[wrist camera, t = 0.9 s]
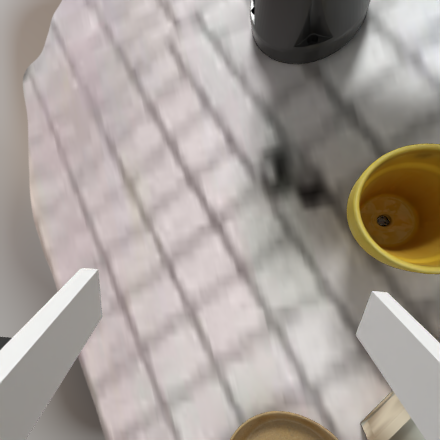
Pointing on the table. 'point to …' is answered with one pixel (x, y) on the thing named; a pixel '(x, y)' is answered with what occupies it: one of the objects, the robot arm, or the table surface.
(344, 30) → the robot arm
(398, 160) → the plant pot
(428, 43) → the table surface
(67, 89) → the table surface
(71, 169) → the table surface
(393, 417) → the tray
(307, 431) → the plant saucer
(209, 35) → the table surface
